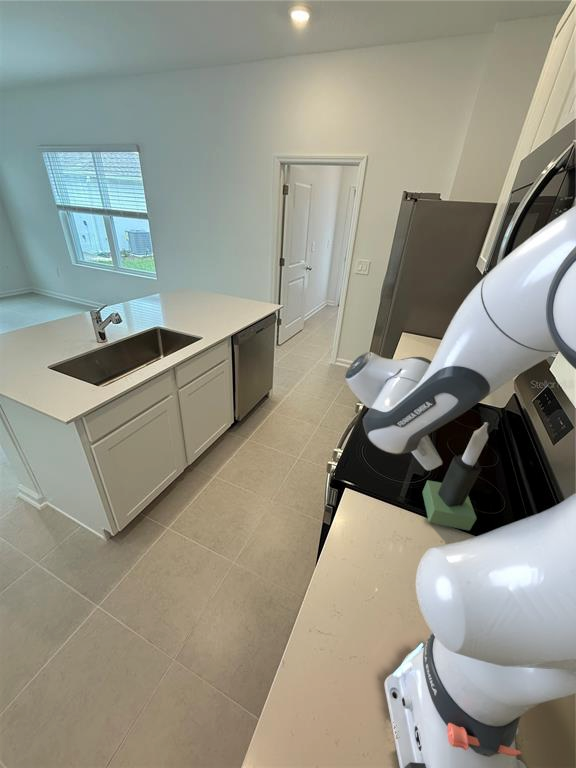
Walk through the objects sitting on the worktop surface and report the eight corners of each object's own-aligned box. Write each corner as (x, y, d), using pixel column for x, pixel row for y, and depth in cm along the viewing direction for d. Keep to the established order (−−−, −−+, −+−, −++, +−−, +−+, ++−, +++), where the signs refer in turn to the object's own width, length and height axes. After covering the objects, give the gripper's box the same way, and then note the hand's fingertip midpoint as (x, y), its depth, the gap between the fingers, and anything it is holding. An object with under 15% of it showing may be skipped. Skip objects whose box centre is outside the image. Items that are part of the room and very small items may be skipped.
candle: (447, 507, 78) (485, 430, 65) (435, 491, 82) (469, 416, 69) (465, 505, 79) (505, 428, 66) (452, 489, 83) (488, 414, 70)
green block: (469, 530, 78) (476, 518, 76) (428, 522, 80) (434, 510, 77) (459, 499, 87) (465, 487, 84) (422, 492, 88) (427, 480, 86)
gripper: (429, 436, 57) (463, 476, 62) (398, 381, 75) (427, 416, 80) (399, 452, 59) (434, 490, 64) (376, 395, 77) (405, 428, 82)
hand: (430, 448), depth 72 cm, fingers open, 8 cm apart
